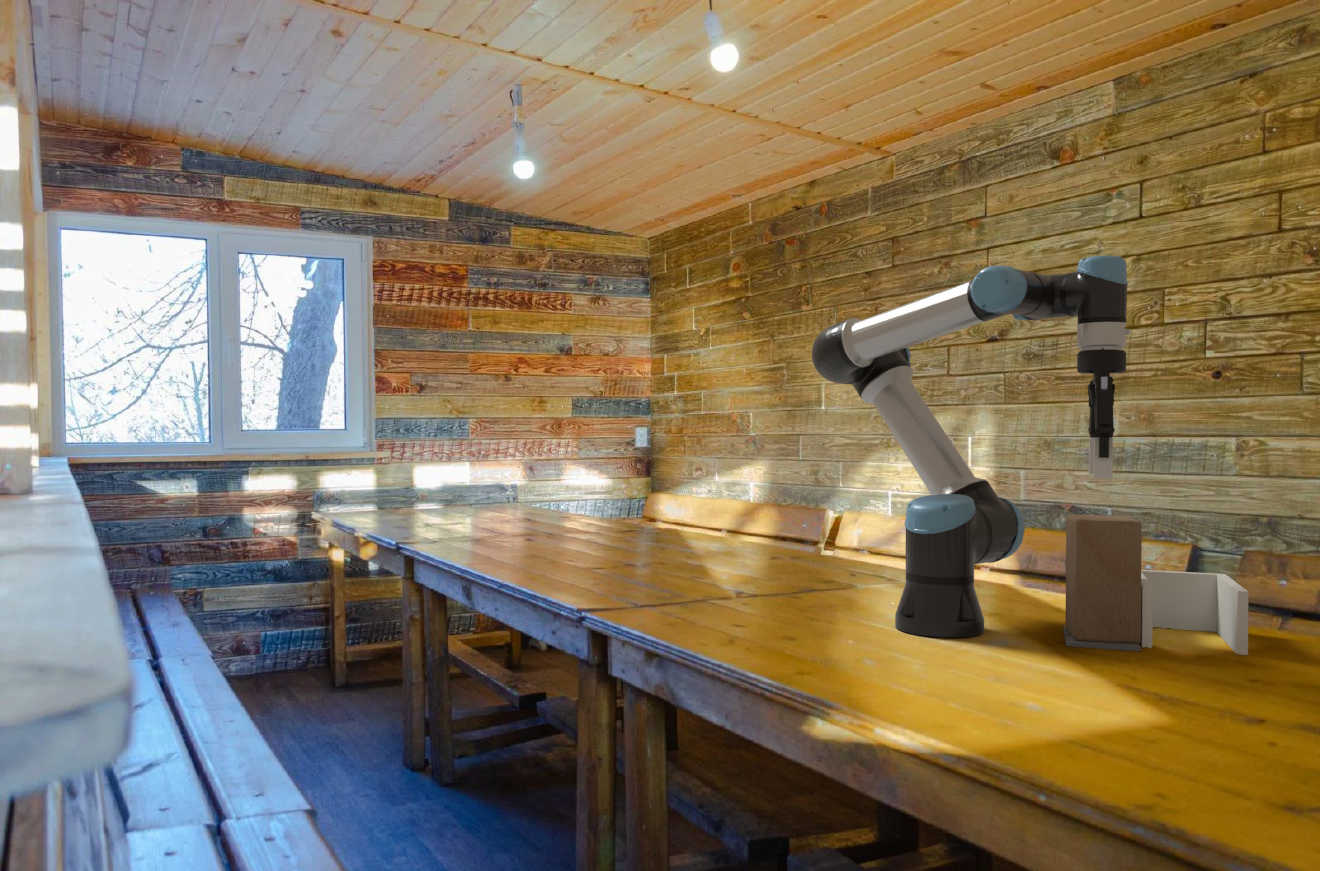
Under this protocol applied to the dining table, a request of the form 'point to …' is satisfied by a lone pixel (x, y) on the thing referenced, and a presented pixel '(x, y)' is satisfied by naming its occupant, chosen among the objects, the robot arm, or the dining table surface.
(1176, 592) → the white u-shaped bracket
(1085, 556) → the wooden block
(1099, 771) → the dining table surface
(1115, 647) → the mat
